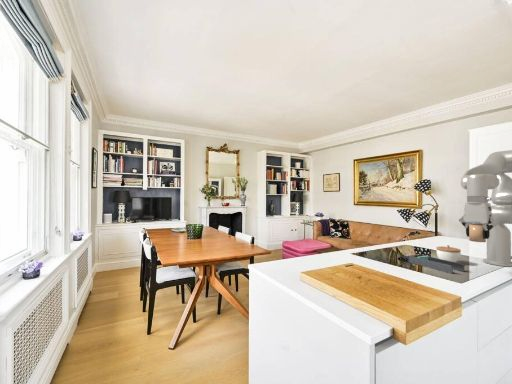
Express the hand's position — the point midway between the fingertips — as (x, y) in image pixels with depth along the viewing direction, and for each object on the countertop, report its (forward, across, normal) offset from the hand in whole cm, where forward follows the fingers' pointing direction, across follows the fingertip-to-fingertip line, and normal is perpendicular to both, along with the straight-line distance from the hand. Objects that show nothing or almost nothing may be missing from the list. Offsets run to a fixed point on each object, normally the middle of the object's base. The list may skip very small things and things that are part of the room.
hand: (477, 237), depth 120 cm
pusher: (+16, +20, +9) cm, 28 cm away
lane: (+17, +14, +10) cm, 24 cm away
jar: (+2, 0, 0) cm, 2 cm away
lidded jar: (+17, +17, -6) cm, 25 cm away
